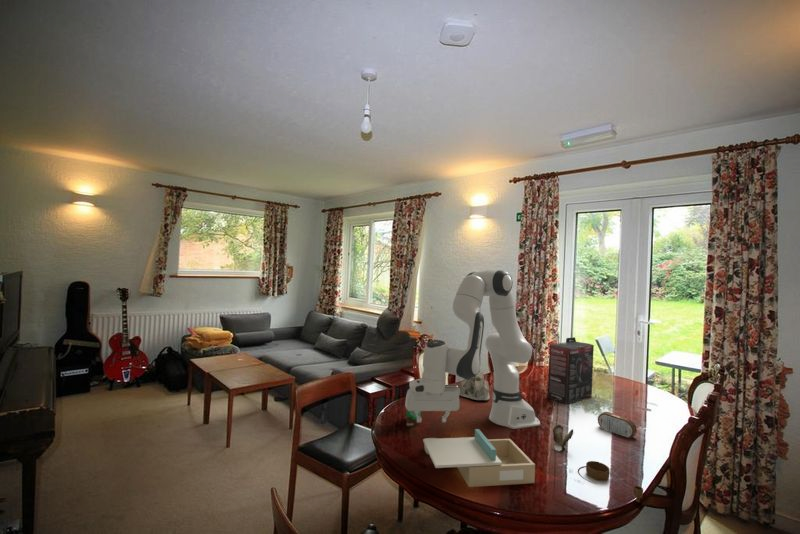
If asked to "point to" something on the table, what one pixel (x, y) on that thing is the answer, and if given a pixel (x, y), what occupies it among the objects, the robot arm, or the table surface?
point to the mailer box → (501, 467)
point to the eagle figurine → (560, 438)
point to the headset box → (570, 371)
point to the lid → (462, 451)
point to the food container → (412, 418)
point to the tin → (617, 424)
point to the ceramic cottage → (475, 388)
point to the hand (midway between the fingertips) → (431, 422)
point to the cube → (425, 446)
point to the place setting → (606, 475)
